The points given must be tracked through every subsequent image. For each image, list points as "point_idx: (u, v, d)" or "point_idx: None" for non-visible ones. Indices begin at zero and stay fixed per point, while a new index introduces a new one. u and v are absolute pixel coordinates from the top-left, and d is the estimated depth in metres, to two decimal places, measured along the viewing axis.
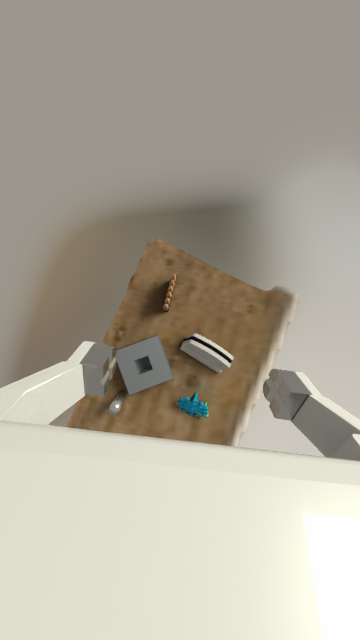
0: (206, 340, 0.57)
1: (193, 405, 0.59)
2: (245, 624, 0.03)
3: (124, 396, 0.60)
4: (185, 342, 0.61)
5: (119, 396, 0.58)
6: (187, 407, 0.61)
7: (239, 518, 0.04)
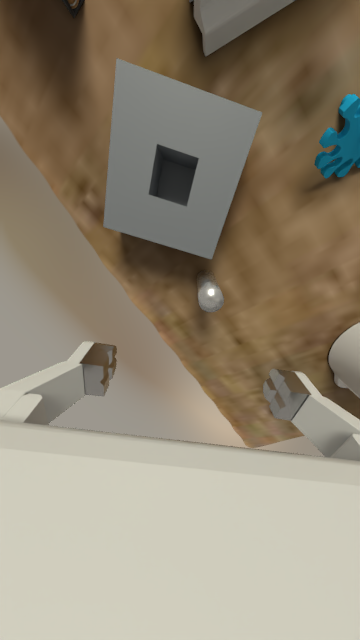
0: None
1: None
2: (245, 624, 0.03)
3: (208, 274, 0.28)
4: None
5: (200, 280, 0.27)
6: (353, 146, 0.21)
7: (239, 518, 0.04)
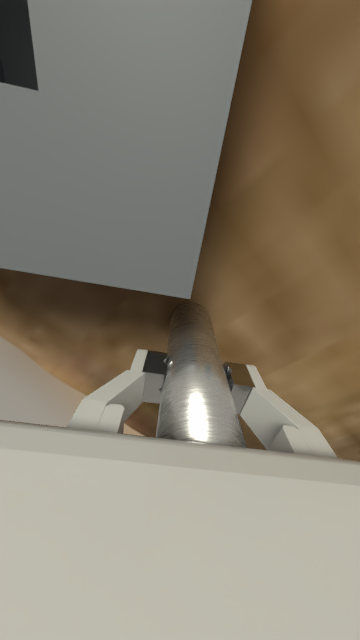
0: None
1: None
2: (245, 624, 0.03)
3: (192, 321, 0.11)
4: None
5: (170, 347, 0.10)
6: None
7: (239, 518, 0.04)
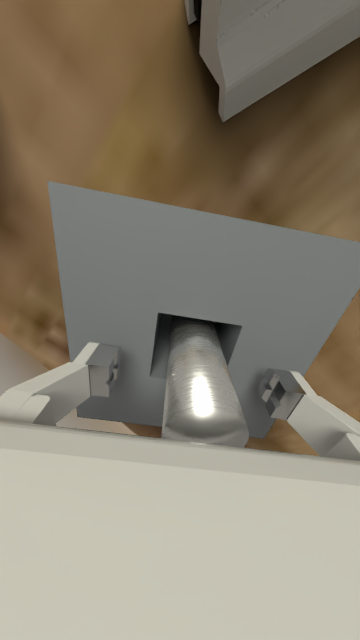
0: None
1: None
2: (245, 624, 0.03)
3: None
4: None
5: (174, 335, 0.11)
6: None
7: (239, 518, 0.04)
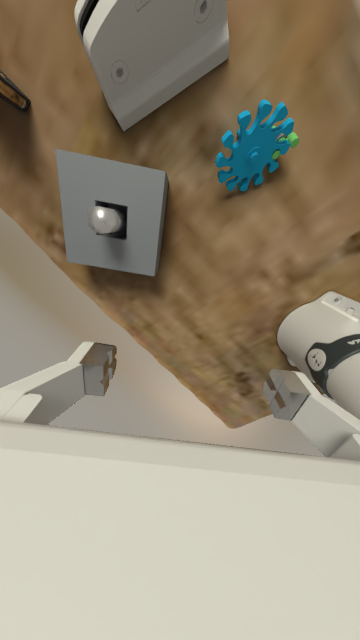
0: None
1: (250, 141, 0.24)
2: (245, 624, 0.03)
3: None
4: (102, 89, 0.23)
5: None
6: (243, 168, 0.27)
7: (239, 518, 0.04)
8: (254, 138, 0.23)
